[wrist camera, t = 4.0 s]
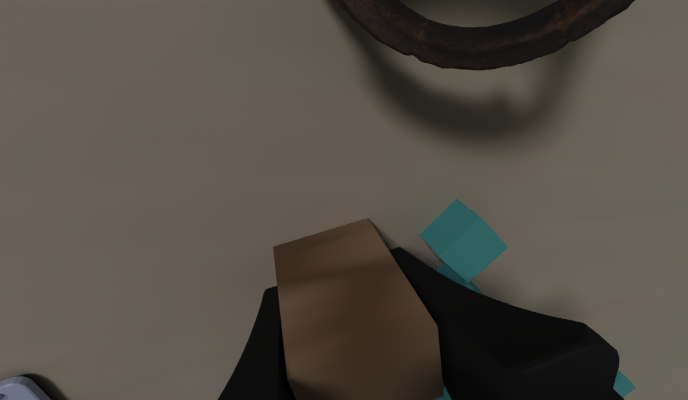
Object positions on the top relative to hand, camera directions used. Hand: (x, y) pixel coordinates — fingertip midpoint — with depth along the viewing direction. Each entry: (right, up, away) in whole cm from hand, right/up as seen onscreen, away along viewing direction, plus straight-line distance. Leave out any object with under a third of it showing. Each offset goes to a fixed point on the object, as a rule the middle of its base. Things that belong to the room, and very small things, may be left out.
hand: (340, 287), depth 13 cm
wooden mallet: (0, -3, +3) cm, 4 cm away
